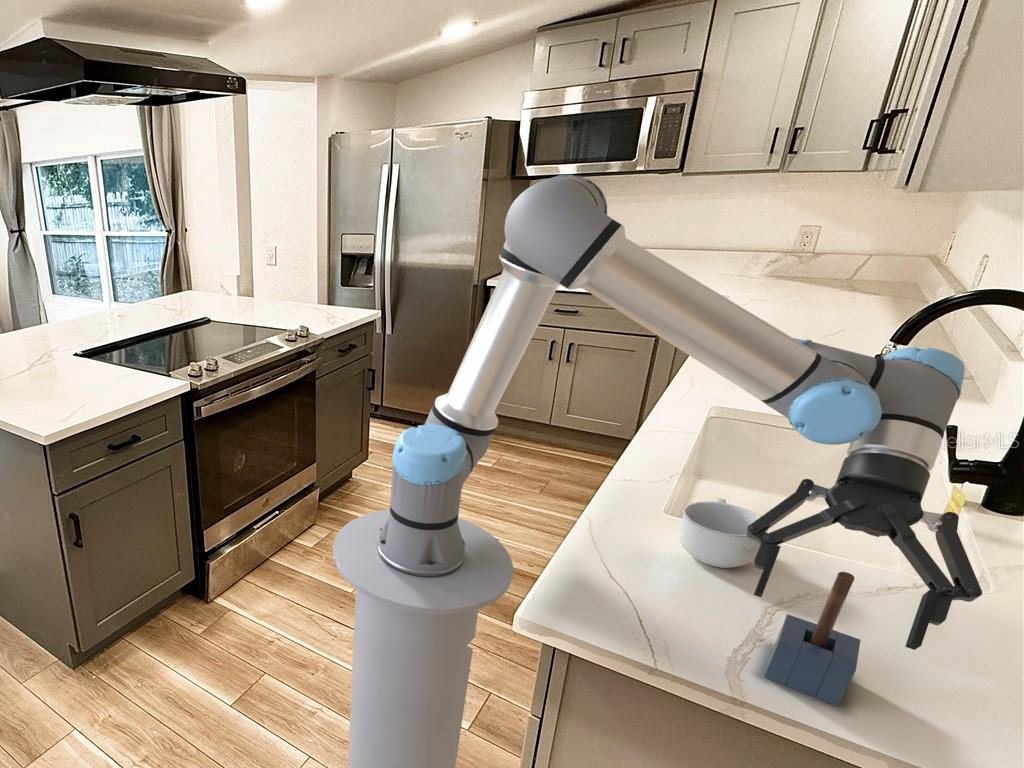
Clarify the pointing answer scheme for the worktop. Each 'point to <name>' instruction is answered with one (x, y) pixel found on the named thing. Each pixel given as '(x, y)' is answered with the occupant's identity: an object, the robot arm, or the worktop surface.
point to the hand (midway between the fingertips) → (830, 618)
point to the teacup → (718, 533)
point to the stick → (832, 609)
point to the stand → (813, 661)
